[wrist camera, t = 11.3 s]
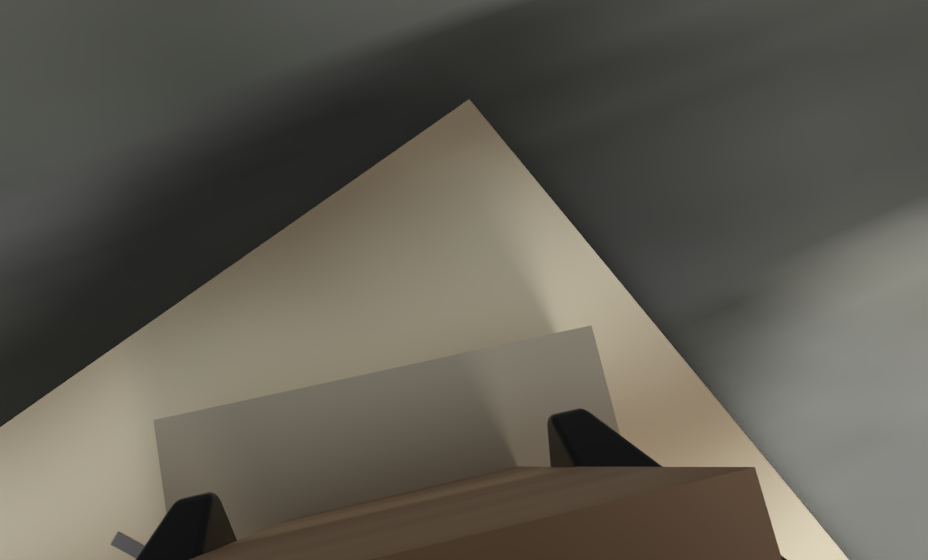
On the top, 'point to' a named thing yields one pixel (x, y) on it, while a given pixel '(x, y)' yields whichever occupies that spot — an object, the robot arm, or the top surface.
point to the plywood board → (363, 342)
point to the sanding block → (451, 469)
